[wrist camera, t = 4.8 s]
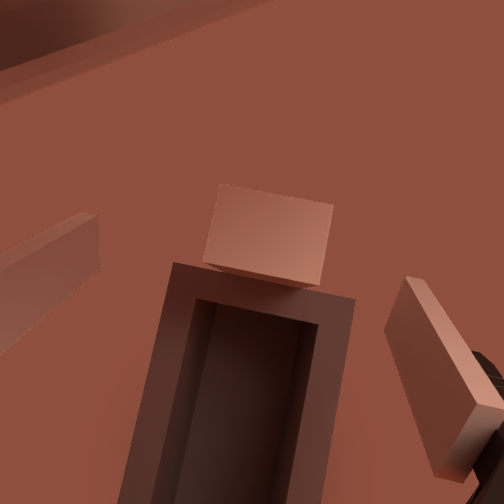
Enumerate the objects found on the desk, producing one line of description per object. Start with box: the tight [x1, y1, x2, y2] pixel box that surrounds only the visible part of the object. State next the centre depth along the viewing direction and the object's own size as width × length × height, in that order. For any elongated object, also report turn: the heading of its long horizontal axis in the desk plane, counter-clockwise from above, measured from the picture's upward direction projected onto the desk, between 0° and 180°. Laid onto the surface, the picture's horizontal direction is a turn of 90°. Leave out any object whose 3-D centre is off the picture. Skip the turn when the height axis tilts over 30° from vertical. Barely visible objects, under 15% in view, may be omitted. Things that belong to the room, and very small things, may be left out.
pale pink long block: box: [203, 183, 334, 288], centre depth 24 cm, size 5×19×4 cm, turn 177°
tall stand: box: [118, 262, 356, 504], centre depth 27 cm, size 12×12×30 cm
